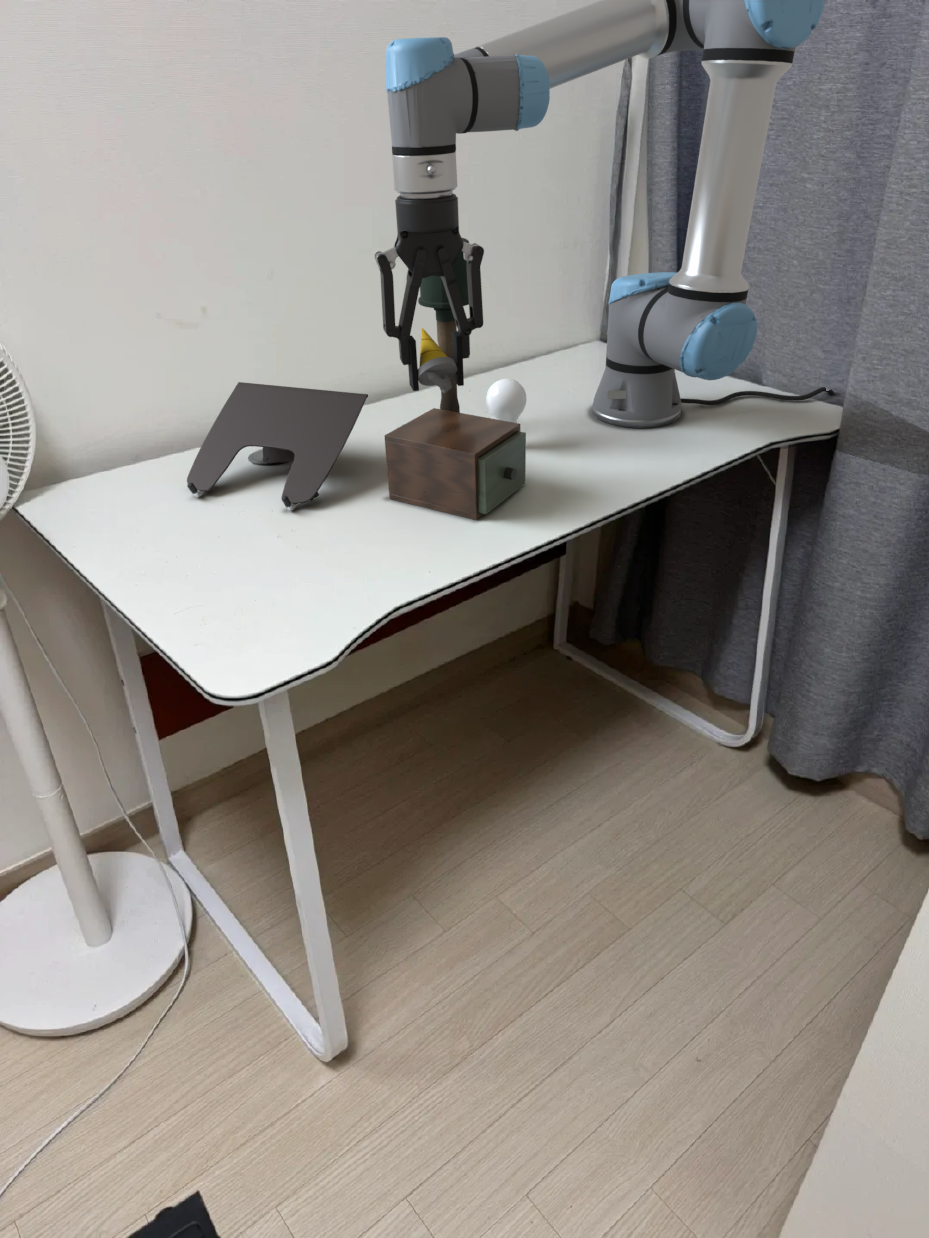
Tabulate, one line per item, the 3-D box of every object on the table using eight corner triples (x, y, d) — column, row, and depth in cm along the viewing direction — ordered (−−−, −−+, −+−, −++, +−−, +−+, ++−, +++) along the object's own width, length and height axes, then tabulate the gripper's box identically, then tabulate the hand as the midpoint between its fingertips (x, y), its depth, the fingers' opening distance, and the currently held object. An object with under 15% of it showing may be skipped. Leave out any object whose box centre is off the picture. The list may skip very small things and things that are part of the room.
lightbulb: (505, 436, 143) (505, 370, 137) (533, 445, 139) (535, 378, 133) (478, 447, 140) (477, 380, 134) (507, 457, 136) (507, 388, 130)
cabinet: (520, 486, 126) (520, 423, 121) (476, 520, 117) (474, 454, 112) (436, 468, 133) (433, 407, 127) (389, 499, 124) (384, 435, 119)
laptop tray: (194, 522, 132) (166, 483, 125) (255, 413, 143) (232, 371, 135) (327, 542, 125) (306, 503, 118) (380, 427, 136) (364, 383, 128)
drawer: (532, 485, 124) (533, 434, 120) (493, 516, 116) (493, 462, 112) (447, 467, 131) (445, 417, 126) (404, 494, 123) (400, 443, 118)
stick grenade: (477, 421, 150) (473, 235, 133) (473, 439, 142) (468, 245, 126) (429, 421, 150) (419, 236, 134) (422, 439, 143) (411, 246, 127)
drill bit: (416, 400, 112) (394, 334, 114) (442, 407, 116) (421, 343, 118) (445, 379, 109) (422, 311, 111) (471, 386, 113) (449, 321, 115)
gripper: (353, 203, 98) (372, 402, 110) (509, 192, 101) (510, 386, 114) (345, 195, 104) (364, 384, 116) (492, 185, 107) (495, 370, 120)
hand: (436, 385), depth 115 cm, fingers closed on drill bit, 5 cm apart
